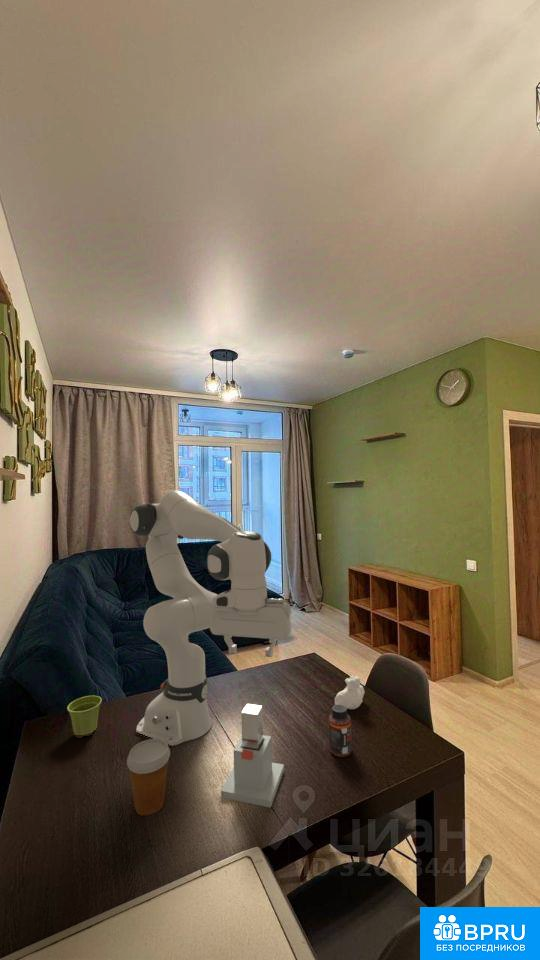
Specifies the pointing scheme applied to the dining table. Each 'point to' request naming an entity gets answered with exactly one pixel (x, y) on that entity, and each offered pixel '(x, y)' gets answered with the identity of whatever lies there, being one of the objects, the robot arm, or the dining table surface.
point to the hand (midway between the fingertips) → (250, 654)
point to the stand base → (253, 775)
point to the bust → (351, 693)
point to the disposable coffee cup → (148, 774)
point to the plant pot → (84, 714)
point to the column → (252, 727)
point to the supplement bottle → (340, 731)
